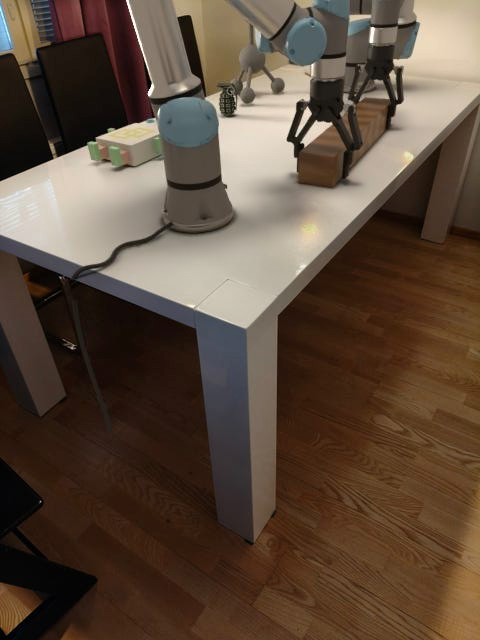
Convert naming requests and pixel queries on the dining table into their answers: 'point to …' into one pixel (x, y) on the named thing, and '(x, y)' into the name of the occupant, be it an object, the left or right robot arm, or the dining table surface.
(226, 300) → the dining table surface
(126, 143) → the decorative block
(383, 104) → the wooden square beam
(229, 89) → the grenade
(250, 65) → the molecular model
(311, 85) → the left robot arm
